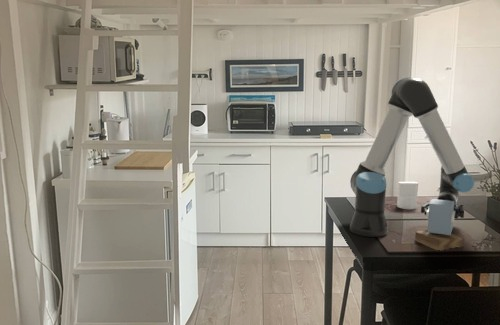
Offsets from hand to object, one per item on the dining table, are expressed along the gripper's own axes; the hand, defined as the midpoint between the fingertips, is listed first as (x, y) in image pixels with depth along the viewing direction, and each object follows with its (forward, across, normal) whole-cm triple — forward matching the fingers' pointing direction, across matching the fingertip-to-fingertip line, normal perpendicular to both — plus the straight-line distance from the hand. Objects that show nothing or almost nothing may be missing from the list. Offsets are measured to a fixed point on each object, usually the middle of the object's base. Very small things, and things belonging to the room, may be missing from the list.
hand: (439, 217), depth 180 cm
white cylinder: (-53, +20, -12) cm, 58 cm away
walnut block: (-5, 0, -12) cm, 13 cm away
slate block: (-5, 0, -7) cm, 8 cm away
